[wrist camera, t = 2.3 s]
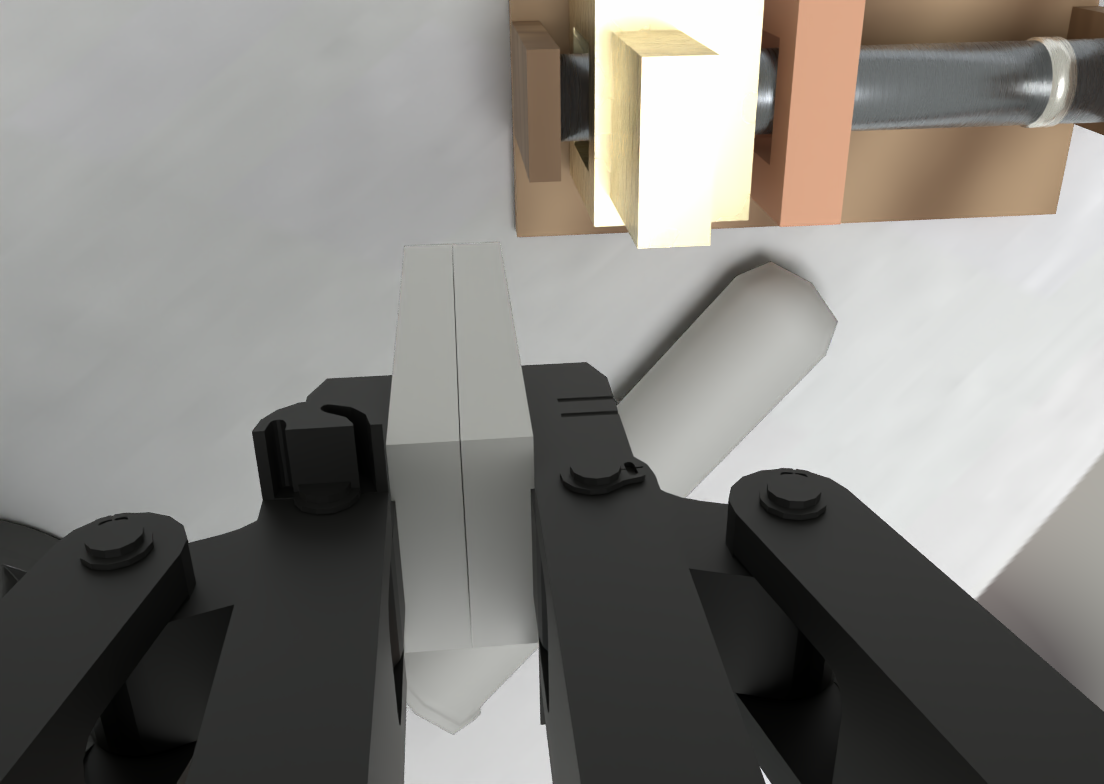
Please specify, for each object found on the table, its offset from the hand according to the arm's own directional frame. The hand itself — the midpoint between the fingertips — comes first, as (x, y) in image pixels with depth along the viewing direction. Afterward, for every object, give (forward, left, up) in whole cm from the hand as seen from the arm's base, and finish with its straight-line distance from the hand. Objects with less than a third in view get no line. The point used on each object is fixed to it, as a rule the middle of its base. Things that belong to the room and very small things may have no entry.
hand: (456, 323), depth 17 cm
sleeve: (+7, 0, -23) cm, 24 cm away
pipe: (+13, 0, -21) cm, 25 cm away
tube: (+6, -18, -25) cm, 31 cm away
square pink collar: (+11, 0, -23) cm, 26 cm away
